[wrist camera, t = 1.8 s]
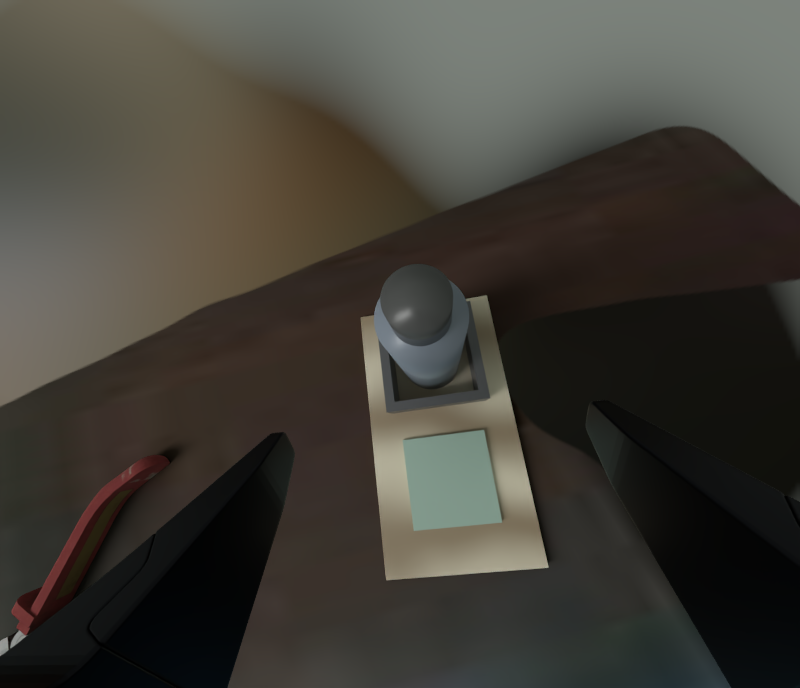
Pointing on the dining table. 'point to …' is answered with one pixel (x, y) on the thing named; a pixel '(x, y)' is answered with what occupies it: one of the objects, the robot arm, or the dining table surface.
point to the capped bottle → (422, 324)
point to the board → (454, 546)
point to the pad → (451, 481)
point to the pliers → (80, 550)
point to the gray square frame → (442, 400)
